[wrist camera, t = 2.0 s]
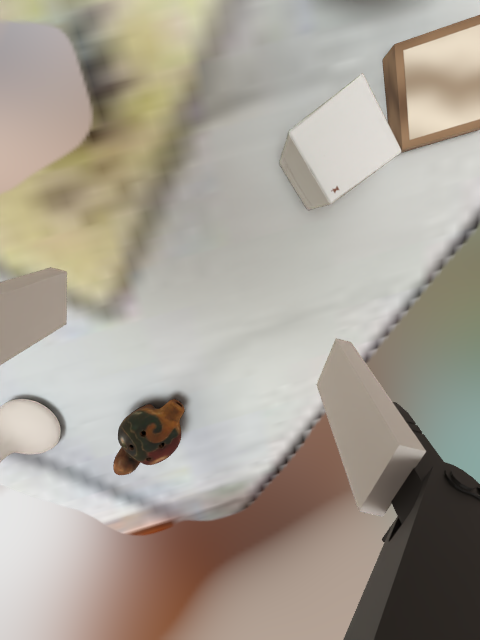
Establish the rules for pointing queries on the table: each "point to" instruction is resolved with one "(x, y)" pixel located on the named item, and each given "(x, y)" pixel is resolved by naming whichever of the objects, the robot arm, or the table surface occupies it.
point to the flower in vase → (27, 428)
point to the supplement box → (338, 146)
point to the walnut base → (434, 85)
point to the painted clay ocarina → (148, 436)
